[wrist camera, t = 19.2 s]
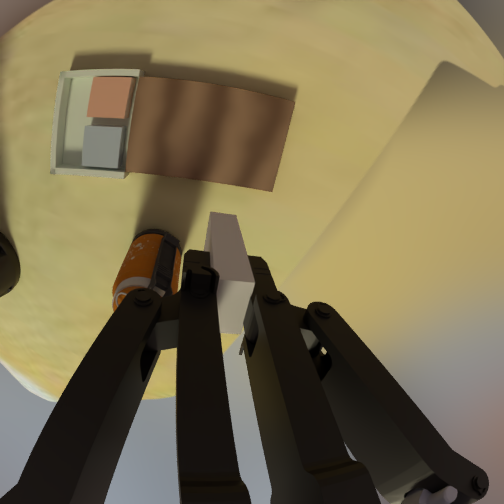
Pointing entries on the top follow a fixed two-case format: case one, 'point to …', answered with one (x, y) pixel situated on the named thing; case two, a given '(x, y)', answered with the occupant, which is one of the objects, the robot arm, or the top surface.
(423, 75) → the top surface
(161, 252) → the canister
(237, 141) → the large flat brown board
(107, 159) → the tile
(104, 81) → the tile
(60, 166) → the tray
